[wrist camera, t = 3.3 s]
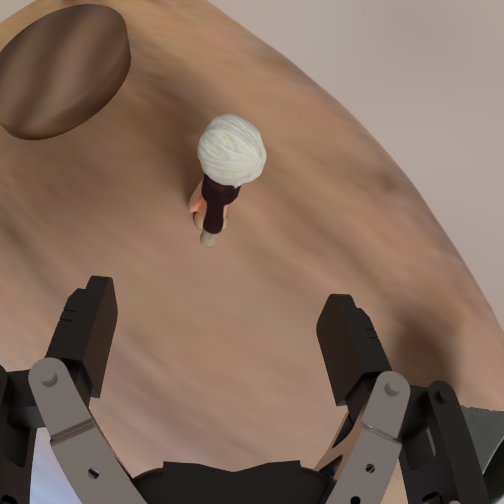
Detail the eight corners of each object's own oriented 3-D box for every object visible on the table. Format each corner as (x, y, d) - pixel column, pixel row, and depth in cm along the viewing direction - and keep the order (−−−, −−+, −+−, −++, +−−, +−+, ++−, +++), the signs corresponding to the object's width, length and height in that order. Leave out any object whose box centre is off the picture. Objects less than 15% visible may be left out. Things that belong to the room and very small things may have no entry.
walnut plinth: (-20, 144, 22) (-38, 128, 18) (32, 36, 24) (22, 16, 20) (107, 139, 24) (97, 115, 20) (146, 24, 27) (145, -1, 23)
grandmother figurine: (192, 166, 25) (197, 65, 13) (237, 169, 26) (275, 74, 14) (184, 257, 24) (176, 215, 12) (233, 260, 25) (274, 222, 13)
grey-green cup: (402, 487, 25) (468, 531, 13) (391, 425, 25) (474, 467, 14) (463, 440, 27) (531, 464, 15) (457, 376, 28) (539, 392, 16)
